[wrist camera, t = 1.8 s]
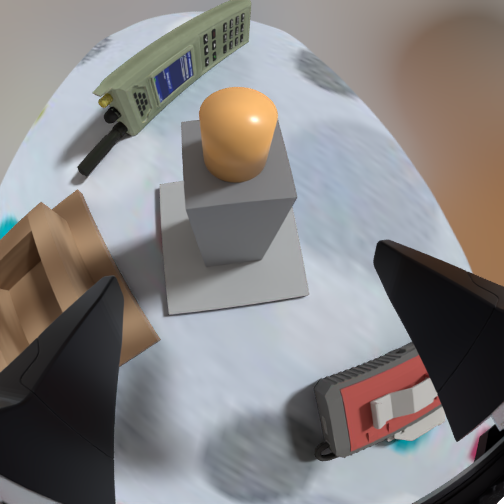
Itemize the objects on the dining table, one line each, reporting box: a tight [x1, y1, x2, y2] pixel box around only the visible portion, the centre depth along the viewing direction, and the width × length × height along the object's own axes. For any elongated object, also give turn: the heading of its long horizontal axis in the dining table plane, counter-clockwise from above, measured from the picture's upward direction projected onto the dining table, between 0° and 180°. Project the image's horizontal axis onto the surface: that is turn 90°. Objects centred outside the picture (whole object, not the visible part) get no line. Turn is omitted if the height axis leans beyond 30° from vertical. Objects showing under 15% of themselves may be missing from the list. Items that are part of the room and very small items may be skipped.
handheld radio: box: [77, 0, 251, 176], centre depth 21 cm, size 7×3×25 cm
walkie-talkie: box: [314, 342, 445, 461], centre depth 17 cm, size 9×4×20 cm
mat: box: [160, 181, 309, 315], centre depth 21 cm, size 10×10×1 cm
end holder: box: [0, 189, 161, 372], centre depth 16 cm, size 14×14×5 cm
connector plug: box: [181, 87, 297, 267], centre depth 14 cm, size 4×4×13 cm
